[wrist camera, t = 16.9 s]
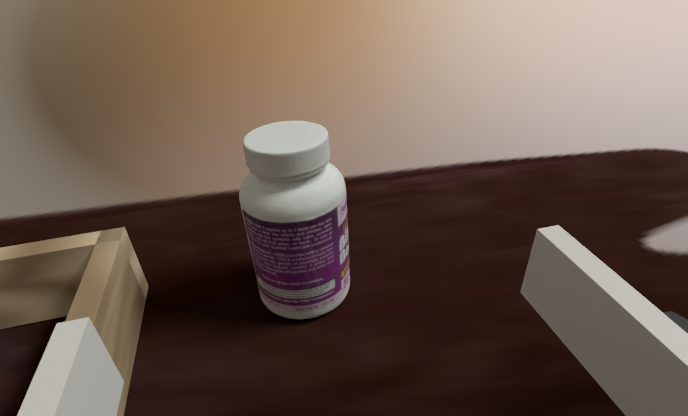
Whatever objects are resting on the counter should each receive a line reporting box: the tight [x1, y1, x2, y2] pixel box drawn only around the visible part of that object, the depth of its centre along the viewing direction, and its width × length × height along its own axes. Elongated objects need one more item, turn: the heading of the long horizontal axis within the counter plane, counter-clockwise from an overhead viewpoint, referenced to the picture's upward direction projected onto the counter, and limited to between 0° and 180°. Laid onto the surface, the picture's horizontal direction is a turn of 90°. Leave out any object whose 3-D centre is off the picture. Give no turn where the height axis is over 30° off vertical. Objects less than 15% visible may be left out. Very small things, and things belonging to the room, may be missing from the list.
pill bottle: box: [239, 121, 350, 319], centre depth 22 cm, size 5×5×10 cm
